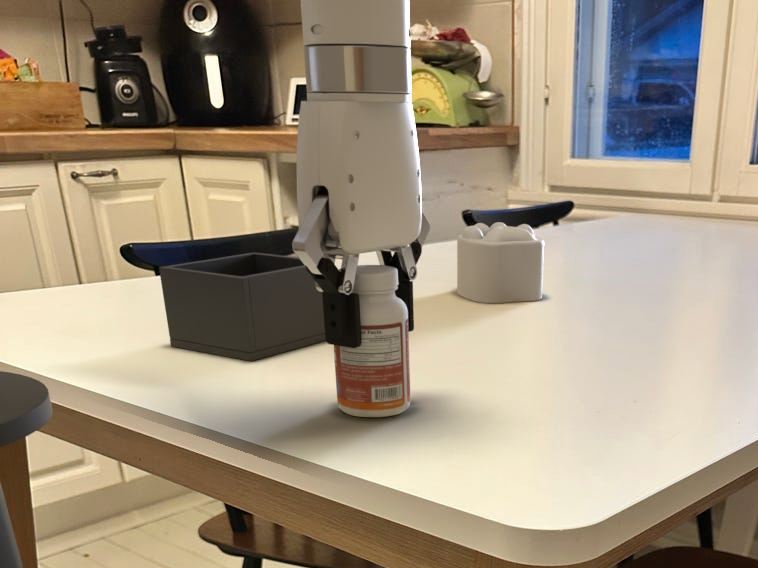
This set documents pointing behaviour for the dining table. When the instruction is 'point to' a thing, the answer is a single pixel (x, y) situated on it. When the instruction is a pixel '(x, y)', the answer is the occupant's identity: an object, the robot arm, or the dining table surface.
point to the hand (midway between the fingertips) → (370, 335)
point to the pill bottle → (376, 349)
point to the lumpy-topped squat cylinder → (499, 263)
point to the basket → (242, 305)
